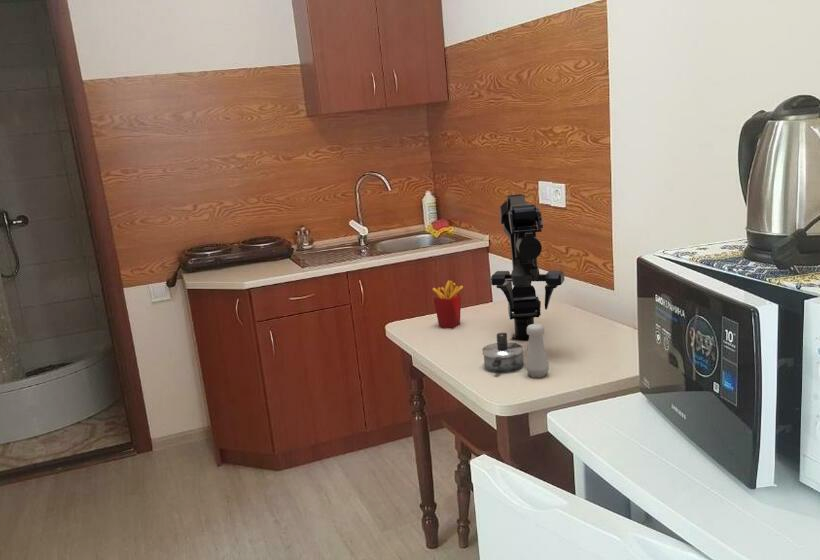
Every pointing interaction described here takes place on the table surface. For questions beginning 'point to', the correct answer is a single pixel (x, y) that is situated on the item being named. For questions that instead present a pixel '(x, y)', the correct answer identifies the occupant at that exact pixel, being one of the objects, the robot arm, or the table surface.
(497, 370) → the pot
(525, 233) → the robot arm
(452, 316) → the french fries
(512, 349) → the lid
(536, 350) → the salt shaker
